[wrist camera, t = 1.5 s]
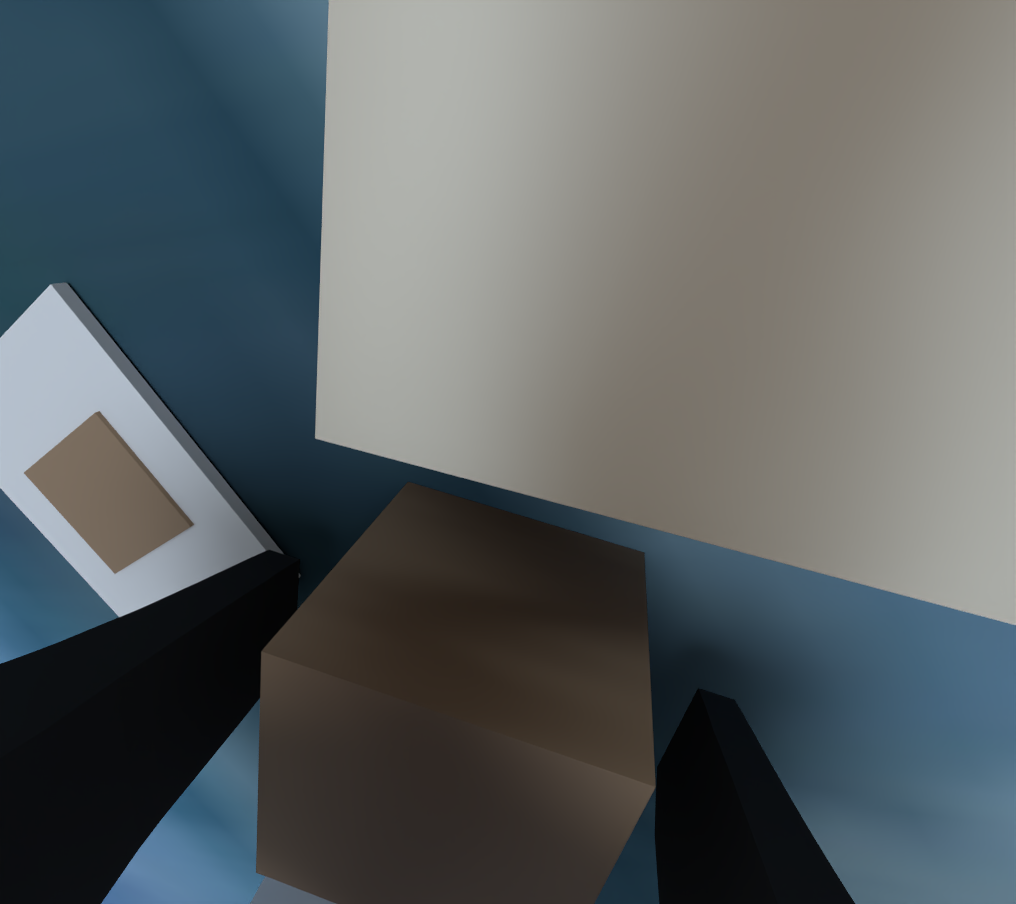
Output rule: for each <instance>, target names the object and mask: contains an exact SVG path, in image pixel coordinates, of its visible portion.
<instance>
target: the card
mask: <svg viewBox="0 0 1016 904" xmlns="http://www.w3.org/2000/svg"><path fill="white" fill-rule="evenodd" d="M0 488H1V489H2V490H3V491H4V492H5V494H6V495H7V496H8V497H9V498H10V499H11V500H12V501H13V502H14V503H15V504H16V505H17V507H18V508H19V509H20V510H21V511H22V512H23V513H24V514H25V515H26V516H27V517H28V518H29V520H30V521H31V522H32V523H33V524H34V525H35V526H36V527H37V528H38V529H39V530H40V532H41V533H42V534H43V535H44V536H45V537H46V538H47V539H48V540H49V541H50V542H51V543H52V545H53V546H54V547H55V548H56V549H57V550H58V551H59V552H60V553H61V554H62V555H63V556H64V558H65V559H66V560H67V561H68V562H69V563H70V564H71V565H72V566H73V567H74V568H75V569H76V571H77V572H78V573H79V574H80V575H81V576H82V577H83V578H84V579H85V580H86V581H87V582H88V584H89V585H90V586H91V587H92V588H93V589H94V590H95V591H96V592H97V593H98V594H99V596H100V597H101V598H102V599H103V600H104V601H105V602H106V603H107V604H108V605H109V606H110V607H111V609H112V610H113V611H114V612H115V613H116V614H117V615H118V616H119V617H121V616H124V615H126V614H129V613H131V612H133V611H136V610H138V609H140V608H143V607H145V606H147V605H149V604H151V603H154V602H156V601H158V600H160V599H162V598H165V597H167V596H169V595H171V594H173V593H176V592H178V591H180V590H182V589H184V588H187V587H189V586H191V585H193V584H195V583H198V582H200V581H202V580H204V579H206V578H208V577H210V576H212V575H215V574H217V573H219V572H221V571H223V570H225V569H227V568H229V567H232V566H234V565H236V564H238V563H240V562H242V561H244V560H247V559H249V558H251V557H253V556H255V555H258V554H260V553H262V552H265V551H267V550H272V551H275V552H278V553H281V554H283V552H282V551H281V550H280V549H279V547H278V546H277V545H276V544H275V542H274V541H273V540H272V539H271V537H270V536H269V535H268V534H267V532H266V531H265V530H264V529H263V527H262V526H261V525H260V524H259V522H258V521H257V520H256V519H255V517H254V516H253V515H252V514H251V512H250V511H249V510H248V509H247V507H246V506H245V505H244V504H243V502H242V501H241V500H240V499H239V497H238V496H237V495H236V494H235V492H234V491H233V490H232V489H231V487H230V486H229V485H228V484H227V482H226V481H225V480H224V479H223V477H222V476H221V475H220V474H219V472H218V471H217V470H216V469H215V467H214V466H213V465H212V464H211V462H210V461H209V460H208V459H207V457H206V456H205V455H204V454H203V452H202V451H201V450H200V449H199V447H198V446H197V445H196V444H195V442H194V441H193V440H192V439H191V437H190V436H189V435H188V434H187V432H186V431H185V430H184V429H183V427H182V426H181V425H180V424H179V422H178V421H177V420H176V419H175V417H174V416H173V415H172V414H171V412H170V411H169V410H168V409H167V407H166V406H165V405H164V404H163V402H162V401H161V400H160V399H159V397H158V396H157V395H156V394H155V392H154V391H153V390H152V389H151V387H150V386H149V385H148V384H147V382H146V381H145V380H144V379H143V377H142V376H141V375H140V374H139V372H138V371H137V370H136V369H135V367H134V366H133V365H132V364H131V362H130V361H129V360H128V359H127V357H126V356H125V355H124V354H123V352H122V351H121V350H120V349H119V347H118V346H117V345H116V344H115V342H114V341H113V340H112V339H111V337H110V336H109V335H108V334H107V332H106V331H105V330H104V329H103V327H102V326H101V325H100V324H99V322H98V321H97V320H96V319H95V317H94V316H93V315H92V314H91V312H90V311H89V310H88V309H87V307H86V306H85V305H84V304H83V302H82V301H81V300H80V299H79V297H78V296H77V295H76V294H75V292H74V291H73V290H72V289H71V287H70V286H69V285H68V284H67V283H59V284H51V285H50V286H49V287H48V288H47V289H46V290H45V291H44V292H43V293H42V294H41V295H40V296H39V297H38V298H37V300H36V301H35V302H34V303H33V304H32V305H31V306H30V307H29V308H28V309H27V310H26V311H25V312H24V313H23V314H22V315H21V317H20V318H19V319H18V320H17V321H16V322H15V323H14V324H13V325H12V326H11V327H10V328H9V329H8V330H7V331H6V332H5V334H4V335H3V336H2V337H1V338H0ZM300 576H301V575H300V574H299V577H300Z"/></svg>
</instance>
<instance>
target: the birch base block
mask: <svg viewBox="0 0 1016 904" xmlns="http://www.w3.org/2000/svg"><path fill="white" fill-rule="evenodd" d="M315 439H319V440H323V441H326V442H330V443H334V444H338V445H341V446H345V447H349V448H353V449H356V450H360V451H364V452H368V453H371V454H375V455H379V456H383V457H386V458H390V459H394V460H398V461H401V462H405V463H409V464H413V465H416V466H420V467H424V468H428V469H431V470H435V471H439V472H443V473H446V474H450V475H454V476H458V477H461V478H465V479H469V480H473V481H476V482H480V483H484V484H488V485H491V486H495V487H499V488H503V489H506V490H510V491H514V492H518V493H521V494H525V495H529V496H533V497H536V498H540V499H544V500H548V501H552V502H555V503H559V504H563V505H567V506H570V507H574V508H578V509H582V510H585V511H589V512H593V513H597V514H600V515H604V516H608V517H612V518H615V519H619V520H623V521H627V522H630V523H634V524H638V525H642V526H645V527H649V528H653V529H657V530H660V531H664V532H668V533H672V534H675V535H679V536H683V537H687V538H690V539H694V540H698V541H702V542H705V543H709V544H713V545H717V546H720V547H724V548H728V549H732V550H735V551H739V552H743V553H747V554H750V555H754V556H758V557H762V558H765V559H769V560H773V561H777V562H780V563H784V564H788V565H792V566H795V567H799V568H803V569H807V570H810V571H814V572H818V573H822V574H826V575H829V576H833V577H837V578H841V579H844V580H848V581H852V582H856V583H859V584H863V585H867V586H871V587H874V588H878V589H882V590H886V591H889V592H893V593H897V594H901V595H904V596H908V597H912V598H916V599H919V600H923V601H927V602H931V603H934V604H938V605H942V606H946V607H949V608H953V609H957V610H961V611H964V612H968V613H972V614H976V615H979V616H983V617H987V618H991V619H994V620H998V621H1002V622H1006V623H1009V624H1013V625H1016V0H329V15H328V47H327V79H326V110H325V142H324V174H323V206H322V237H321V269H320V301H319V333H318V365H317V396H316V428H315Z"/></svg>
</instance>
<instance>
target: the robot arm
mask: <svg viewBox="0 0 1016 904" xmlns="http://www.w3.org/2000/svg"><path fill="white" fill-rule="evenodd" d="M299 566H300V559H297V558H294V557H291V556H288V555H284V554H281V553H278V552H275V551H272V550H267V551H265V552H262V553H260V554H258V555H255V556H253V557H251V558H249V559H247V560H244V561H242V562H240V563H238V564H236V565H234V566H232V567H229V568H227V569H225V570H223V571H221V572H219V573H217V574H215V575H212V576H210V577H208V578H206V579H204V580H202V581H200V582H198V583H195V584H193V585H191V586H189V587H187V588H184V589H182V590H180V591H178V592H176V593H173V594H171V595H169V596H167V597H165V598H162V599H160V600H158V601H156V602H154V603H151V604H149V605H147V606H145V607H143V608H140V609H138V610H136V611H133V612H131V613H129V614H126V615H124V616H121V617H119V618H116V619H114V620H112V621H109V622H107V623H104V624H102V625H100V626H97V627H95V628H92V629H90V630H87V631H85V632H83V633H80V634H78V635H75V636H73V637H70V638H68V639H66V640H63V641H61V642H58V643H56V644H53V645H50V646H48V647H45V648H43V649H40V650H37V651H35V652H32V653H29V654H26V655H24V656H21V657H18V658H16V659H13V660H10V661H7V662H4V663H1V664H0V904H101V903H102V901H103V900H104V898H105V897H106V896H107V894H108V893H109V891H110V890H111V888H112V887H113V885H114V884H115V883H116V881H117V880H118V878H119V877H120V875H121V874H122V872H123V871H124V870H125V868H126V867H127V865H128V864H129V862H130V861H131V859H132V858H133V857H134V855H135V854H136V852H137V851H138V849H139V848H140V847H141V845H142V844H143V843H144V841H145V840H146V839H147V838H148V836H149V835H150V834H151V832H152V831H153V830H154V828H155V827H156V826H157V824H158V823H159V822H160V820H161V819H162V818H163V817H164V815H165V814H166V813H167V812H168V810H169V809H170V808H171V807H172V806H173V804H174V803H175V802H176V801H177V799H178V798H179V797H180V796H181V795H182V793H183V792H184V791H185V790H186V788H187V787H188V786H189V785H190V784H191V782H192V781H193V780H194V779H195V777H196V776H197V775H198V774H199V772H200V771H201V770H202V769H203V768H204V766H205V765H206V764H207V763H208V761H209V760H210V759H211V758H212V757H213V755H214V754H215V753H216V752H217V750H218V749H219V748H220V747H221V745H222V744H223V743H224V742H225V741H226V739H227V738H228V737H229V736H230V734H231V733H232V732H233V731H234V729H235V728H236V727H237V726H238V724H239V723H240V722H241V721H242V720H243V718H244V717H245V716H246V715H247V713H248V712H249V711H250V710H251V708H252V707H253V706H254V704H255V703H256V702H257V701H258V699H259V698H260V688H261V651H262V650H263V649H264V648H265V647H266V645H267V644H268V643H269V642H270V641H271V640H272V638H273V637H274V636H275V635H276V634H277V633H278V632H279V630H280V629H281V628H282V627H283V626H284V625H285V623H286V622H287V621H288V620H289V619H290V618H291V617H292V615H293V614H294V613H295V612H296V611H297V599H298V583H299ZM655 845H656V861H657V875H658V890H659V904H855V903H854V901H853V899H852V898H851V896H850V895H849V893H848V892H847V890H846V889H845V887H844V886H843V884H842V882H841V881H840V879H839V878H838V876H837V874H836V873H835V871H834V870H833V868H832V866H831V865H830V863H829V862H828V860H827V858H826V857H825V855H824V853H823V852H822V850H821V848H820V847H819V845H818V844H817V842H816V840H815V839H814V837H813V835H812V834H811V832H810V830H809V829H808V827H807V825H806V823H805V822H804V820H803V818H802V817H801V815H800V813H799V812H798V810H797V808H796V807H795V805H794V803H793V801H792V800H791V798H790V796H789V795H788V793H787V791H786V789H785V788H784V786H783V784H782V782H781V781H780V779H779V777H778V775H777V774H776V772H775V770H774V768H773V766H772V765H771V763H770V761H769V759H768V758H767V756H766V754H765V752H764V751H763V749H762V747H761V745H760V743H759V742H758V740H757V738H756V736H755V734H754V733H753V731H752V729H751V727H750V726H749V724H748V722H747V720H746V718H745V717H744V715H743V713H742V711H741V710H740V708H739V706H738V704H737V703H736V701H735V700H733V699H730V698H727V697H724V696H721V695H718V694H715V693H712V692H708V691H705V690H702V689H699V688H698V689H697V691H696V693H695V695H694V697H693V699H692V701H691V703H690V705H689V707H688V709H687V711H686V712H685V714H684V716H683V718H682V720H681V722H680V724H679V726H678V728H677V730H676V732H675V734H674V736H673V738H672V740H671V741H670V743H669V745H668V747H667V749H666V751H665V753H664V755H663V757H662V759H661V761H660V763H659V765H658V767H657V784H656V807H655Z"/></svg>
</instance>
